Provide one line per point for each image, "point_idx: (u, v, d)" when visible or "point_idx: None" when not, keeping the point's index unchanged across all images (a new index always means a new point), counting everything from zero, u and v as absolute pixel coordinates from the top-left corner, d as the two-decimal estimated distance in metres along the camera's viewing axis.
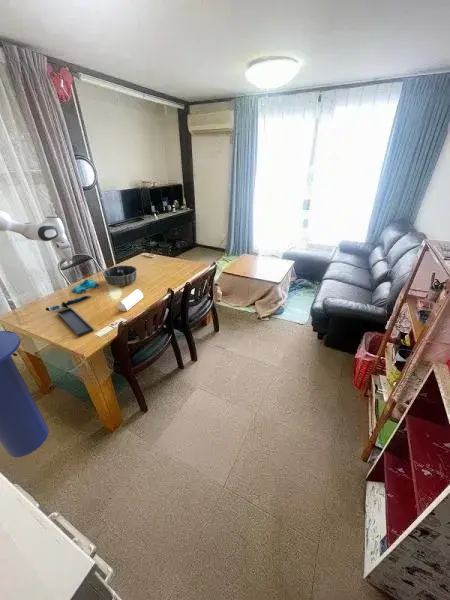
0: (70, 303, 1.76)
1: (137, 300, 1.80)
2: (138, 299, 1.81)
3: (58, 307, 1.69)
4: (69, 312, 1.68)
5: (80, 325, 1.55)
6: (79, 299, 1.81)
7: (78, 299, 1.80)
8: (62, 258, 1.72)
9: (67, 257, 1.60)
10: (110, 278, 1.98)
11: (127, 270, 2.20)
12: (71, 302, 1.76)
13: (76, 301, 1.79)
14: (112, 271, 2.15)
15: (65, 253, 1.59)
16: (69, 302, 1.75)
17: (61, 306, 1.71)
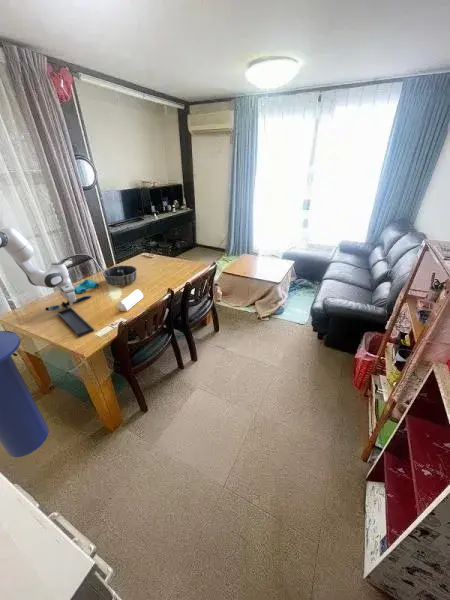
0: None
1: (137, 300, 1.80)
2: (138, 299, 1.81)
3: (58, 307, 1.69)
4: (69, 312, 1.68)
5: (80, 325, 1.55)
6: (79, 299, 1.81)
7: (78, 299, 1.80)
8: (68, 300, 1.76)
9: (71, 301, 1.66)
10: (110, 278, 1.98)
11: (127, 270, 2.20)
12: None
13: (76, 301, 1.79)
14: (112, 271, 2.15)
15: (69, 297, 1.65)
16: None
17: (61, 306, 1.71)
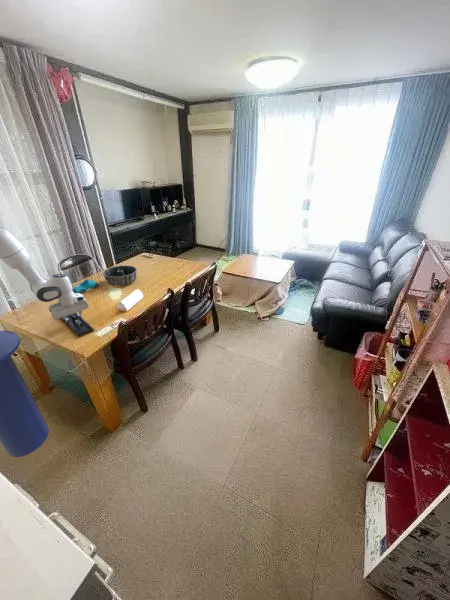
0: None
1: (137, 300, 1.80)
2: (138, 299, 1.81)
3: (79, 322, 1.52)
4: None
5: None
6: (70, 315, 1.61)
7: (70, 315, 1.61)
8: (66, 319, 1.54)
9: None
10: (110, 278, 1.98)
11: (127, 270, 2.20)
12: None
13: None
14: (112, 271, 2.15)
15: (87, 302, 1.59)
16: (73, 317, 1.57)
17: (78, 321, 1.54)
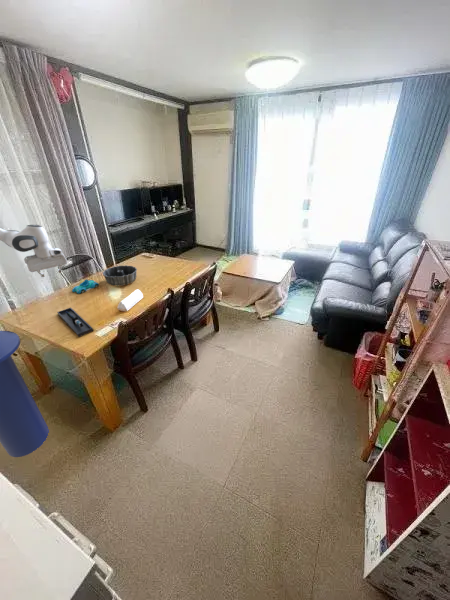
0: None
1: (137, 300, 1.80)
2: (138, 299, 1.81)
3: (79, 322, 1.52)
4: (69, 312, 1.68)
5: None
6: (70, 315, 1.61)
7: (70, 315, 1.61)
8: None
9: (66, 261, 1.59)
10: (110, 278, 1.98)
11: (127, 270, 2.20)
12: None
13: None
14: (112, 271, 2.15)
15: (65, 257, 1.57)
16: (73, 317, 1.57)
17: (78, 321, 1.54)
